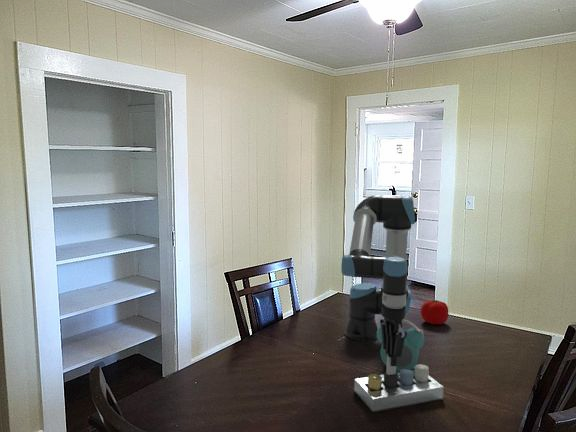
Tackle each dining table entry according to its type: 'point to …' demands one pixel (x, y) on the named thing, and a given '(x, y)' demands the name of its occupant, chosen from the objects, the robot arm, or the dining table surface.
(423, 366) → the white egg
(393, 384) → the black rounded cylinder
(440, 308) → the tomato
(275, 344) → the dining table surface
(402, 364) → the alarm clock
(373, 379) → the gold rounded cylinder
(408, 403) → the white socket board
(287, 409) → the dining table surface
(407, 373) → the blue ovoid
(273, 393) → the dining table surface
